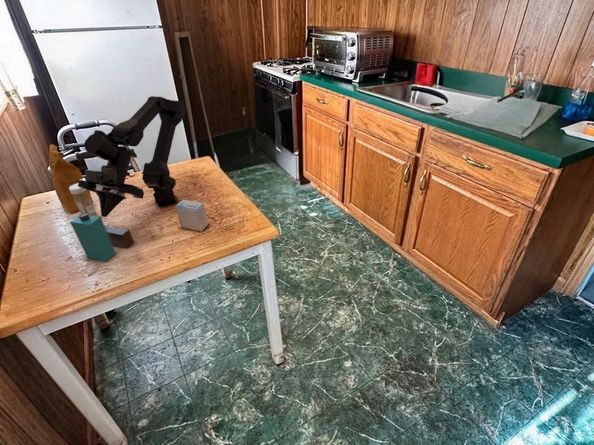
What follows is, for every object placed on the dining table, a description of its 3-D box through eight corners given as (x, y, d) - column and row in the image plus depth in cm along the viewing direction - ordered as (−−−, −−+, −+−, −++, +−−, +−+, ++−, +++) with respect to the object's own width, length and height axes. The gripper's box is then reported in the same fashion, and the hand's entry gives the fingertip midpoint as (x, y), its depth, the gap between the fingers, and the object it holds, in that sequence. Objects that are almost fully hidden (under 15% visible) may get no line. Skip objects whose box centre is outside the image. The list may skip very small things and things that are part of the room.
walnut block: (107, 237, 105) (102, 224, 102) (134, 242, 103) (129, 229, 100) (100, 243, 103) (94, 230, 100) (127, 248, 100) (122, 234, 98)
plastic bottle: (107, 230, 103) (74, 209, 90) (125, 233, 101) (93, 212, 89) (92, 260, 99) (55, 242, 86) (110, 264, 97) (75, 246, 85)
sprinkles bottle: (100, 221, 113) (85, 186, 106) (85, 225, 111) (68, 190, 104) (98, 215, 116) (83, 181, 109) (83, 219, 114) (68, 185, 107)
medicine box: (208, 224, 110) (204, 202, 105) (201, 232, 107) (196, 209, 102) (188, 220, 112) (183, 198, 107) (180, 228, 109) (174, 205, 104)
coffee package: (89, 193, 130) (66, 139, 117) (97, 206, 122) (73, 149, 109) (60, 202, 124) (33, 146, 112) (67, 215, 116) (38, 157, 104)
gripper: (69, 152, 93) (53, 205, 91) (124, 159, 89) (109, 215, 86) (100, 166, 104) (86, 214, 102) (150, 172, 100) (137, 223, 97)
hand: (103, 216), depth 96 cm, fingers closed
